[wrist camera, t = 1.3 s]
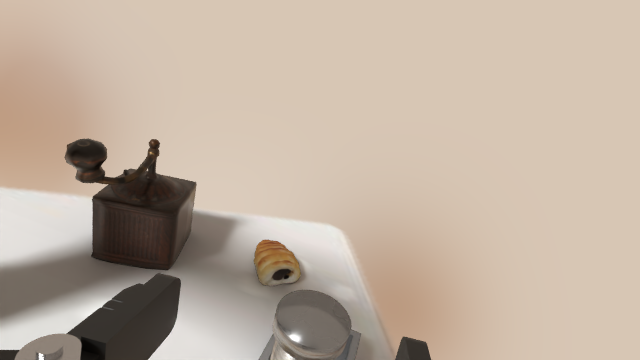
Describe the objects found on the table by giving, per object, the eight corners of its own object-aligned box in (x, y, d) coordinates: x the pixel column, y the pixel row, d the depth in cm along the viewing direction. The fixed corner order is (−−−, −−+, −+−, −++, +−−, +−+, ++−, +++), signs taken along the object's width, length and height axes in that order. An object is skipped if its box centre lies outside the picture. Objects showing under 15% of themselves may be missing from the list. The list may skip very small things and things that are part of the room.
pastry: (245, 249, 57) (249, 229, 55) (284, 248, 60) (289, 229, 58) (259, 289, 49) (264, 267, 48) (302, 286, 52) (308, 265, 51)
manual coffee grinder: (122, 219, 56) (125, 110, 49) (192, 232, 57) (205, 127, 51) (59, 283, 41) (53, 141, 35) (155, 298, 43) (166, 164, 36)
